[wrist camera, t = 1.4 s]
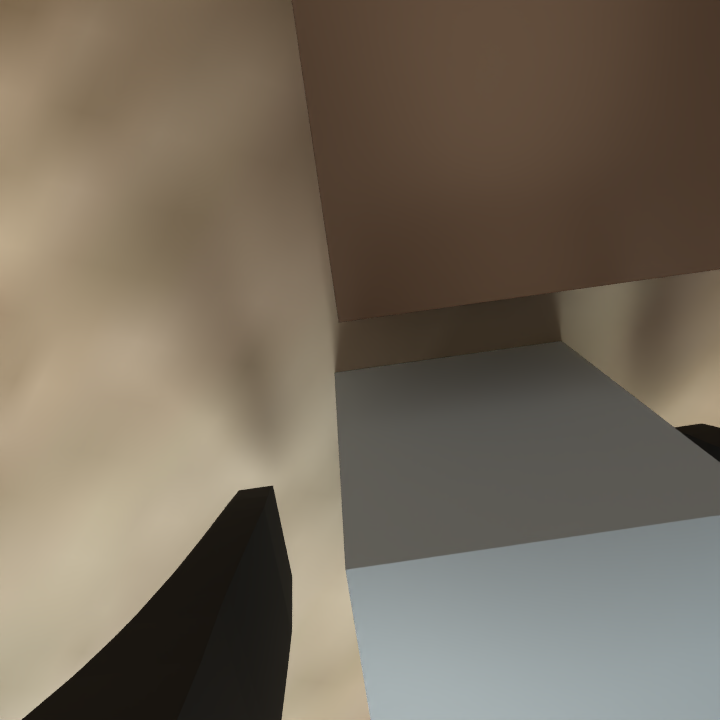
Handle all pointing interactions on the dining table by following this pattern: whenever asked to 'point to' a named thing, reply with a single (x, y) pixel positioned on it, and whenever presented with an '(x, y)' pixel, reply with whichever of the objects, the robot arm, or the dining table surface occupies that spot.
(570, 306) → the dining table surface
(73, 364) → the dining table surface
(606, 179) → the walnut block
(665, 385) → the dining table surface
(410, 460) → the grey block
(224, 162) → the dining table surface
